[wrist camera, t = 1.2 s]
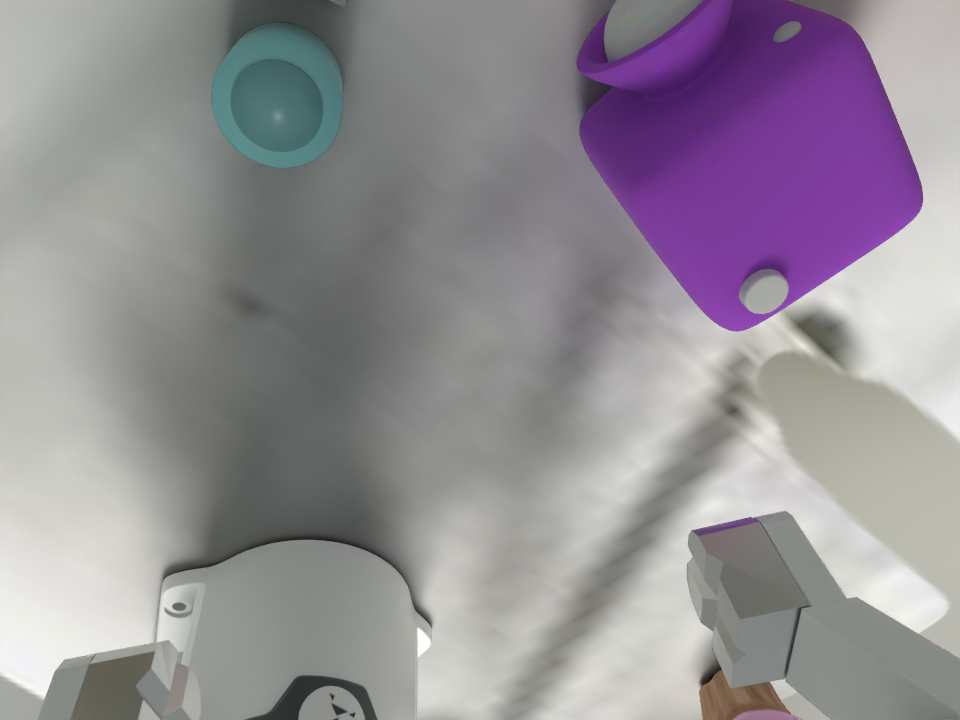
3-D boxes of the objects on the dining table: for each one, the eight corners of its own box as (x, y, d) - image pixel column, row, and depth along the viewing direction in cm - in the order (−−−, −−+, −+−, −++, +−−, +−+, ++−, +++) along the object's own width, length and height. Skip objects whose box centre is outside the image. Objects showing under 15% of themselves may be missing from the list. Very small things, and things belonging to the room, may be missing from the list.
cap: (318, 159, 32) (314, 188, 29) (210, 110, 30) (194, 137, 27) (361, 57, 30) (361, 78, 27) (247, -1, 28) (234, 14, 25)
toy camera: (669, -119, 28) (798, -116, 20) (849, 106, 34) (1003, 180, 26) (489, 102, 32) (534, 182, 24) (680, 268, 38) (768, 378, 30)
